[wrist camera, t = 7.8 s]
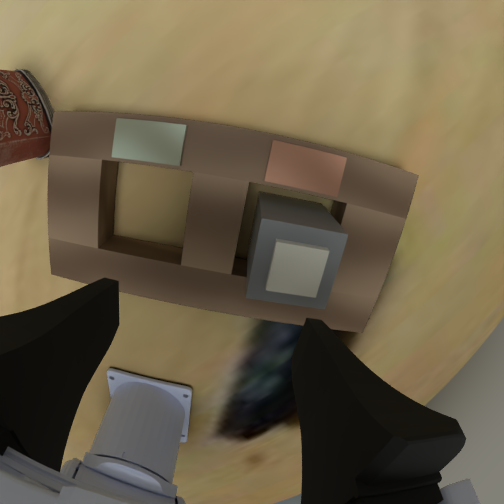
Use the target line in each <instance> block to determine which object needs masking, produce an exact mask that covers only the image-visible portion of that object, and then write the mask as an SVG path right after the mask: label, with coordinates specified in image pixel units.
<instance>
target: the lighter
mask: <svg viewBox="0 0 504 504" xmlns="http://www.w3.org/2000/svg"><path fill="white" fill-rule="evenodd" d="M53 114H54V110H53V108H52V106H51V103H50V101H49V99H48V96H47V95H46V93H45V92H44V90H43V88H42V87H41V85H40V84H39V82H38V81H37V80H36V79H35V77H34V76H33V75H32V74H31V73H30V72H29V71H28V70H22V69H17V70H15V71H8V70H0V167H1V166H5V165H8V164H12V163H16V162H20V161H24V160H28V159H32V158H37V159H42V158H47V157H49V152H50V140H51V130H52V122H53Z"/></svg>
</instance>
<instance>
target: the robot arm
mask: <svg viewBox="0 0 504 504" xmlns="http://www.w3.org/2000/svg"><path fill="white" fill-rule="evenodd" d="M118 326H119V281H117V280H113V279H109V278H102V279H99V280H97V281H95V282H93V283H91V284H88V285H86V286H84V287H82V288H80V289H78V290H76V291H74V292H72V293H70V294H67V295H65V296H63V297H61V298H58V299H56V300H54V301H51V302H49V303H46V304H44V305H41V306H38V307H36V308H32V309H29V310H26V311H23V312H19V313H15V314H10V315H6V316H1V317H0V504H186V503H185V501H184V499H183V498H182V497H179V496H176V492H177V485H174V484H172V482H173V476H174V471H175V465H176V460H177V455H178V449H179V444H180V442H187V437H188V427H189V417H190V407H191V398H192V389H191V388H190V387H188V386H183V385H178V384H173V383H169V382H164V381H160V380H155V379H151V378H147V377H143V376H139V375H135V374H131V373H127V372H124V371H120V370H116V369H113V368H109V369H108V370H107V378H108V384H109V390H110V396H111V401H110V403H109V406H108V408H107V410H106V413H105V415H104V417H103V420H102V422H101V425H100V427H99V429H98V432H97V434H96V437H95V439H94V442H93V444H92V447H91V449H90V452H86V453H85V456H84V458H83V461H81V460H79V459H77V458H73V459H72V460H69V461H66V462H65V464H64V465H63V467H62V469H61V464H62V459H63V455H64V450H65V447H66V443H67V439H68V436H69V432H70V429H71V426H72V423H73V420H74V417H75V414H76V411H77V409H78V406H79V403H80V401H81V398H82V396H83V393H84V391H85V389H86V387H87V385H88V383H89V382H90V380H91V378H92V376H93V375H94V373H95V371H96V369H97V368H98V366H99V364H100V362H101V361H102V359H103V357H104V356H105V354H106V352H107V350H108V349H109V347H110V345H111V343H112V341H113V338H114V336H115V334H116V331H117V329H118ZM292 382H293V388H294V394H295V399H296V405H297V411H298V416H299V422H300V429H301V441H302V496H301V504H480V502H479V500H478V497H477V495H476V492H475V490H474V488H473V485H472V483H471V481H470V479H465V480H462V481H459V482H456V483H453V484H450V485H447V486H445V487H443V488H441V489H439V486H438V482H440V481H441V479H442V477H441V474H440V472H439V471H440V470H442V469H443V468H444V467H445V466H446V465H447V464H448V463H449V462H450V461H451V460H452V459H453V458H454V457H455V456H456V455H457V454H458V453H459V452H460V451H461V449H462V448H463V446H464V444H465V440H466V437H465V435H464V433H463V431H462V429H461V427H460V425H459V423H458V422H457V420H456V419H453V418H451V417H448V416H446V415H443V414H441V413H438V412H436V411H433V410H431V409H429V408H427V407H425V406H423V405H421V404H419V403H417V402H415V401H414V400H412V399H410V398H408V397H407V396H405V395H404V394H402V393H400V392H399V391H397V390H396V389H394V388H393V387H391V386H390V385H389V384H387V383H386V382H385V381H383V380H382V379H381V378H380V377H378V376H377V375H376V374H375V373H373V372H372V371H371V370H370V369H369V368H368V367H367V366H366V365H365V364H364V363H362V362H361V361H360V360H359V359H358V358H357V357H356V356H355V355H354V354H353V353H352V352H351V351H350V350H349V349H348V347H347V346H346V345H345V344H344V343H343V342H342V341H341V340H340V339H339V338H338V337H337V336H336V334H335V333H334V332H333V331H332V330H331V329H330V328H329V327H328V326H327V325H326V324H325V323H324V322H323V321H322V320H320V319H313V318H306V320H305V323H304V326H303V329H302V331H301V334H300V337H299V339H298V342H297V345H296V347H295V350H294V353H293V355H292ZM185 394H187V395H185ZM60 469H61V471H60Z"/></svg>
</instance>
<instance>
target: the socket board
mask: <svg viewBox="0 0 504 504" xmlns="http://www.w3.org/2000/svg"><path fill="white" fill-rule="evenodd" d="M118 162H126V163H134V164H142V165H149V166H157V167H164V168H170V169H177V170H184V171H190V172H194V173H193V179H192V186H191V192H190V199H189V206H188V213H187V220H186V228H185V236H184V244H183V248H179V247H174V246H168V245H163V244H158V243H153V242H147V241H142V240H137V239H131V238H126V237H121V236H116V235H113V227H114V207H115V193H116V181H117V170H118ZM418 176H419V175H416V174H414V173H411V172H408V171H405V170H402V169H399V168H396V167H393V166H390V165H387V164H384V163H381V162H378V161H375V160H372V159H368V158H365V157H362V156H358V155H355V154H351V153H348V152H344V151H341V150H337V149H333V148H330V147H326V146H322V145H318V144H314V143H310V142H306V141H302V140H298V139H293V138H289V137H284V136H280V135H275V134H270V133H266V132H261V131H256V130H250V129H245V128H239V127H234V126H228V125H222V124H216V123H209V122H202V121H195V120H187V119H179V118H171V117H162V116H152V115H141V114H128V113H112V112H87V111H54V114H53V122H52V130H51V140H50V152H49V168H48V236H49V252H50V265H51V274H52V275H56V276H60V277H63V278H67V279H71V280H75V281H79V282H82V283H86V284H91V283H93V282H95V281H97V280H99V279H102V278H109V279H113V280H117V281H119V292H123V293H128V294H132V295H137V296H141V297H146V298H150V299H155V300H160V301H164V302H169V303H174V304H179V305H184V306H189V307H194V308H199V309H205V310H210V311H216V312H221V313H227V314H233V315H238V316H244V317H250V318H256V319H263V320H269V321H276V322H282V323H289V324H296V325H304V323H305V320H306V318H313V319H320V320H322V321H323V322H324V323H325V324H326V325H327V326H328V327H329V328H330V329H335V330H343V331H352V332H361V333H363V331H364V328H365V326H366V324H367V322H368V319H369V317H370V315H371V312H372V310H373V308H374V305H375V303H376V301H377V298H378V296H379V293H380V291H381V288H382V286H383V283H384V281H385V278H386V275H387V273H388V270H389V267H390V265H391V262H392V259H393V256H394V254H395V251H396V248H397V245H398V242H399V239H400V236H401V233H402V230H403V227H404V224H405V221H406V218H407V215H408V211H409V208H410V205H411V201H412V198H413V194H414V191H415V187H416V184H417V180H418ZM249 182H252V183H257V184H263V185H268V186H272V187H277V188H282V189H287V190H292V191H296V192H301V193H305V194H310V195H314V196H319V197H323V198H327V199H331V200H334V203H333V207H332V210H331V215H332V216H333V217H334V218H335V220H336V221H337V222H338V223H339V224H340V225H341V227H342V228H343V229H344V230H345V231H346V232H347V234H348V238H347V241H346V245H345V248H344V251H343V255H342V258H341V261H340V265H339V268H338V271H337V274H336V277H335V281H334V284H333V287H332V290H331V293H330V296H329V299H328V302H327V305H326V308H325V309H318V308H311V307H303V306H296V305H289V304H282V303H275V302H269V301H262V300H256V299H249V298H246V280H247V260H244V259H239V258H234V257H235V252H236V247H237V242H238V236H239V231H240V226H241V221H242V216H243V211H244V206H245V201H246V196H247V191H248V186H249Z"/></svg>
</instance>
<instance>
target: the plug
mask: <svg viewBox="0 0 504 504" xmlns="http://www.w3.org/2000/svg"><path fill="white" fill-rule="evenodd" d="M347 238H348V234H347V232H346V231H345V230H344V229H343V228H342V227H341V225H340V224H339V223H338V222H337V221H336V220H335V218H334V217H333V216H332V215H331V214H330V213H329V212H328V210H327V209H326V208H325V207H324V206H323V205H322V204H321V203H316V202H311V201H306V200H301V199H296V198H291V197H286V196H281V195H276V194H270V193H265V192H259V195H258V200H257V205H256V210H255V215H254V221H253V226H252V231H251V236H250V242H249V247H248V256H247V280H246V298H249V299H256V300H262V301H269V302H275V303H282V304H289V305H296V306H303V307H311V308H318V309H325V308H326V305H327V302H328V299H329V296H330V293H331V290H332V287H333V284H334V281H335V277H336V274H337V271H338V268H339V265H340V261H341V258H342V255H343V251H344V248H345V245H346V241H347Z"/></svg>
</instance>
